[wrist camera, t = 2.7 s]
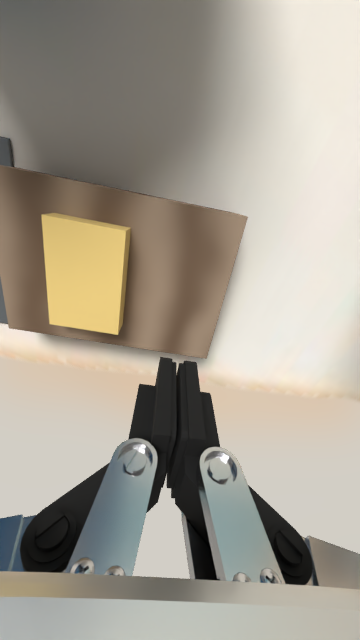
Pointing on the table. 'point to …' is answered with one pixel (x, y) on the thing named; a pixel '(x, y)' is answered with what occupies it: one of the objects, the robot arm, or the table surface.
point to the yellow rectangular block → (85, 272)
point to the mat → (3, 156)
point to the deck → (143, 261)
